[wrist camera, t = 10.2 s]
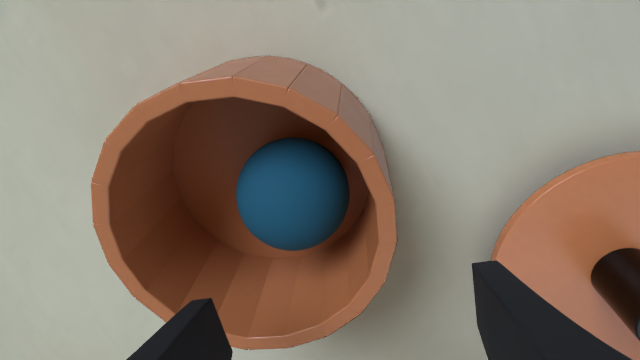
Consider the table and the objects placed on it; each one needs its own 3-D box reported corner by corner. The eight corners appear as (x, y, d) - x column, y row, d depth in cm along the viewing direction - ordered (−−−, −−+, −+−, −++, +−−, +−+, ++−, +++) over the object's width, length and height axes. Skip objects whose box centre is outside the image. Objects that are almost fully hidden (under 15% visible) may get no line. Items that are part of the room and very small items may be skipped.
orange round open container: (168, 33, 16) (83, 45, 11) (410, 82, 16) (436, 117, 11) (161, 241, 20) (96, 320, 15) (356, 280, 20) (357, 372, 15)
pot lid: (538, 121, 17) (596, 157, 13) (800, 174, 17) (938, 226, 13) (454, 324, 21) (477, 397, 17) (661, 366, 21) (732, 448, 17)
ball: (211, 139, 16) (255, 172, 12) (309, 117, 18) (371, 140, 14) (229, 237, 18) (272, 289, 14) (317, 207, 19) (374, 247, 16)
